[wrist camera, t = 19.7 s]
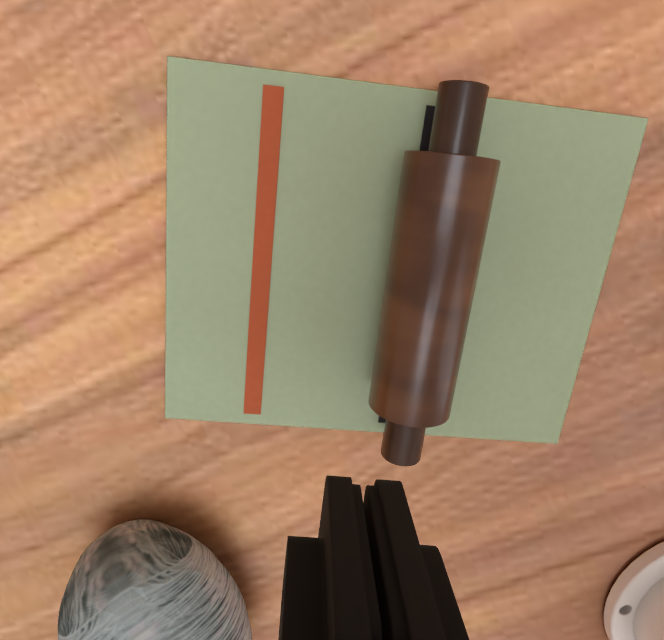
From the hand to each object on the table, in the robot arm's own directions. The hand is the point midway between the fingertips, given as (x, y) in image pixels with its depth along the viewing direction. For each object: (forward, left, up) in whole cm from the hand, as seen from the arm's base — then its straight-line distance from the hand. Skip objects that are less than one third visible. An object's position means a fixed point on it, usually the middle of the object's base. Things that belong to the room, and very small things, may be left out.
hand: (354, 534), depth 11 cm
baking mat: (-4, -2, -17) cm, 18 cm away
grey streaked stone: (+8, +19, -17) cm, 27 cm away
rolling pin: (-5, -2, -17) cm, 18 cm away
